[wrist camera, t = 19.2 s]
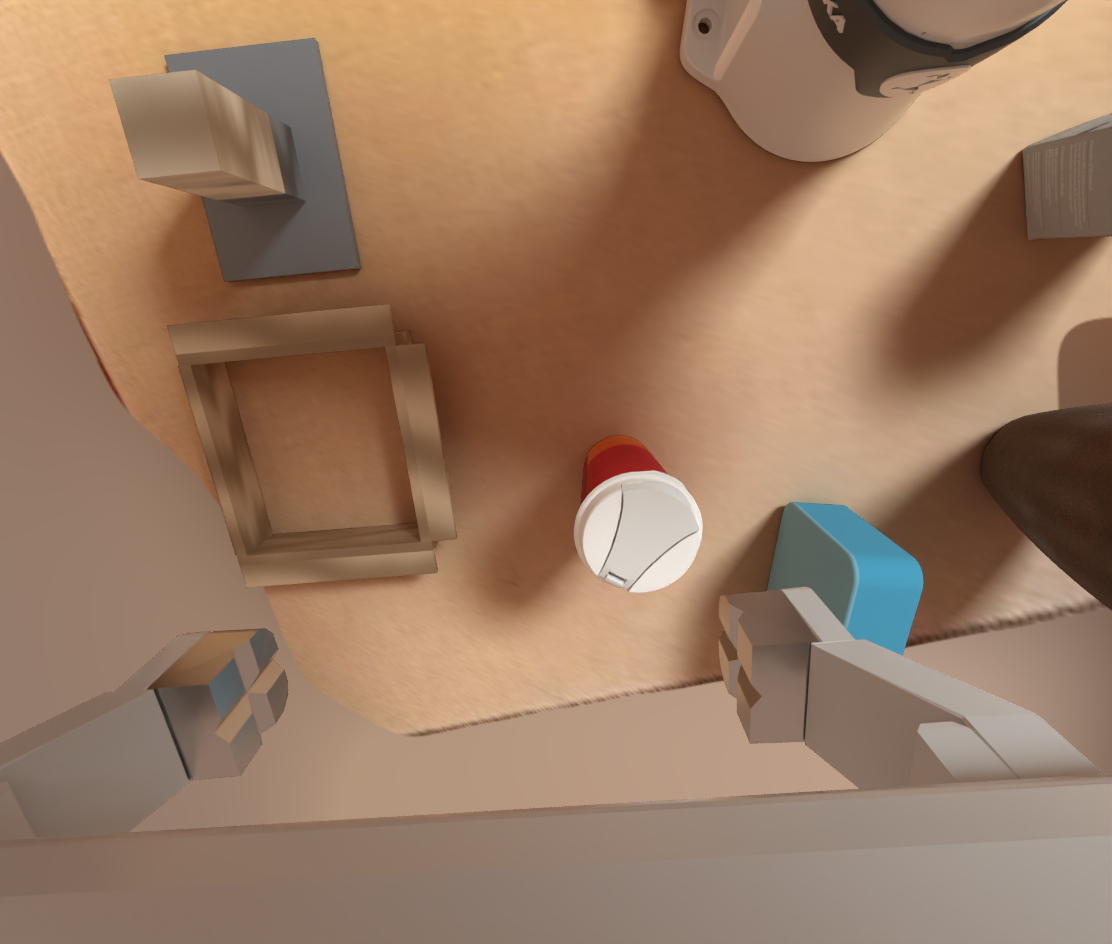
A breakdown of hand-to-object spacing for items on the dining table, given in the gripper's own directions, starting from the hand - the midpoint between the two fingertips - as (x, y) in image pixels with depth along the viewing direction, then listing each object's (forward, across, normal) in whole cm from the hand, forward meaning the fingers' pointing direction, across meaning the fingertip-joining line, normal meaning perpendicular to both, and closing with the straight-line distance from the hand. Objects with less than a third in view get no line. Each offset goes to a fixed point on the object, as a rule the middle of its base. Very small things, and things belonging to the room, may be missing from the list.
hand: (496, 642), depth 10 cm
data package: (+34, -20, +18) cm, 44 cm away
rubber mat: (+34, +18, -16) cm, 42 cm away
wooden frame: (+34, +18, +4) cm, 39 cm away
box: (+34, +18, -16) cm, 41 cm away
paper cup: (+34, -5, +8) cm, 36 cm away
